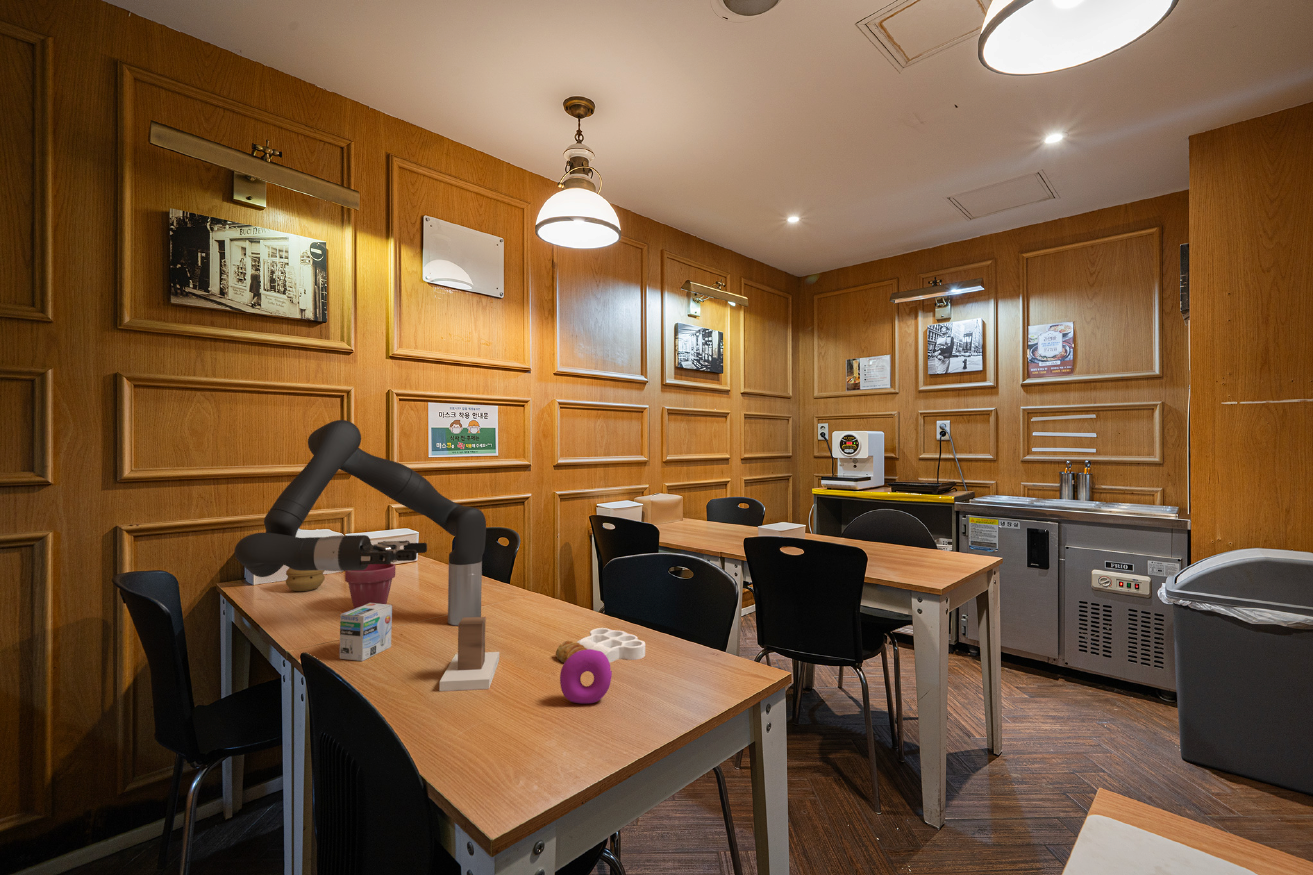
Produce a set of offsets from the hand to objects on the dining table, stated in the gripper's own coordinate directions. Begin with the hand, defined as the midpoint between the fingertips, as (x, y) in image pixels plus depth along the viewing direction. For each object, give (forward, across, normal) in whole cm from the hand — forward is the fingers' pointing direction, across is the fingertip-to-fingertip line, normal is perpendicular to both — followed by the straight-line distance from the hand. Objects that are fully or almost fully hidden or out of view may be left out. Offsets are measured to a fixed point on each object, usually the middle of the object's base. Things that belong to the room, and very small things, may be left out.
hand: (421, 551), depth 124 cm
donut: (+36, -16, +28) cm, 48 cm away
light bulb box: (-17, +17, +28) cm, 37 cm away
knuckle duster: (+43, +11, +29) cm, 53 cm away
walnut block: (+11, 0, +26) cm, 28 cm away
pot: (-60, +83, +28) cm, 106 cm away
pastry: (+34, +6, +28) cm, 44 cm away
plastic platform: (+11, 0, +28) cm, 30 cm away
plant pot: (-30, +58, +28) cm, 71 cm away
